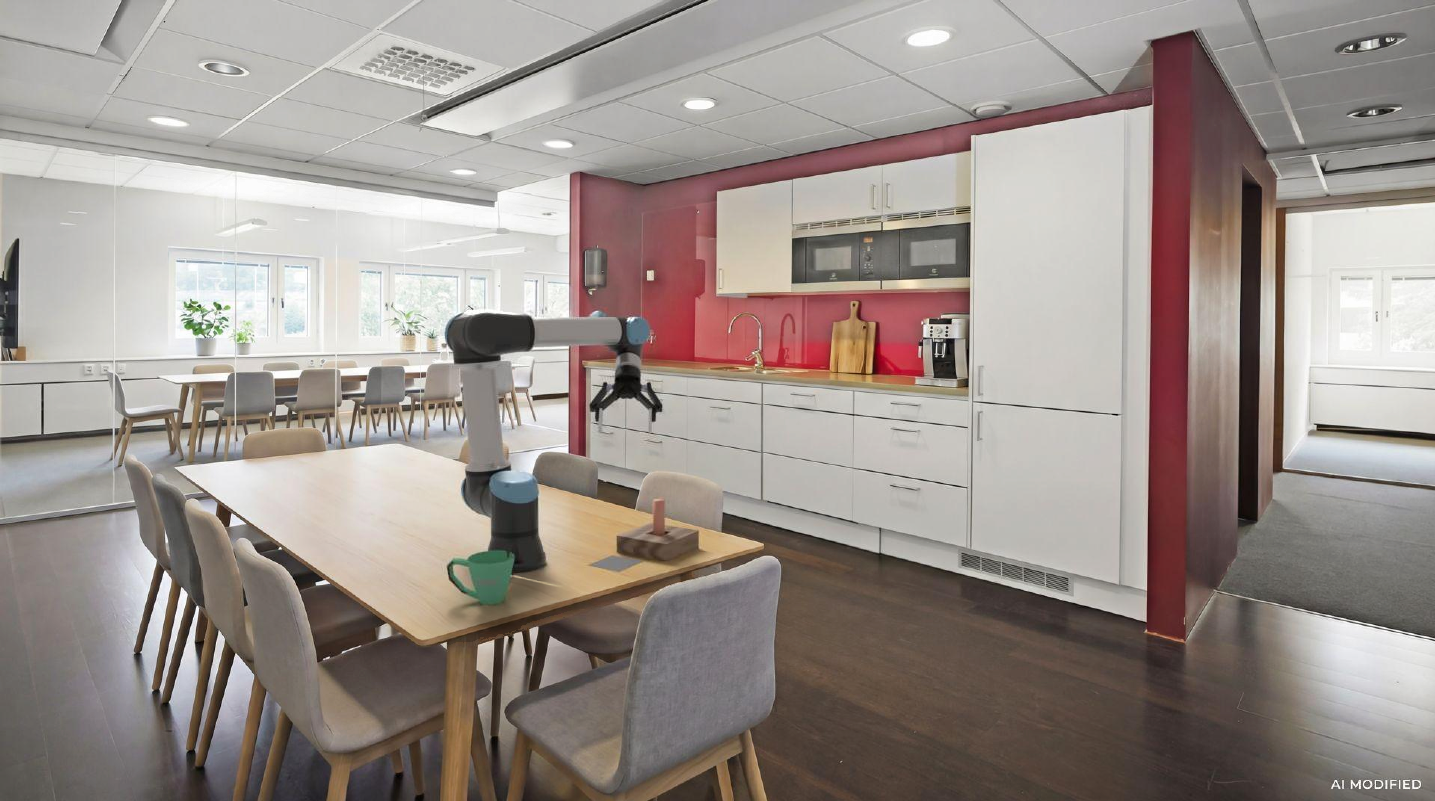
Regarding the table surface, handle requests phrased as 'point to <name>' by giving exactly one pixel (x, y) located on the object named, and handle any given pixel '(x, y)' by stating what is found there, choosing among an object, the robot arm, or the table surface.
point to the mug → (485, 575)
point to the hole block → (658, 542)
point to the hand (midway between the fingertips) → (624, 430)
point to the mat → (615, 563)
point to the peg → (658, 517)
